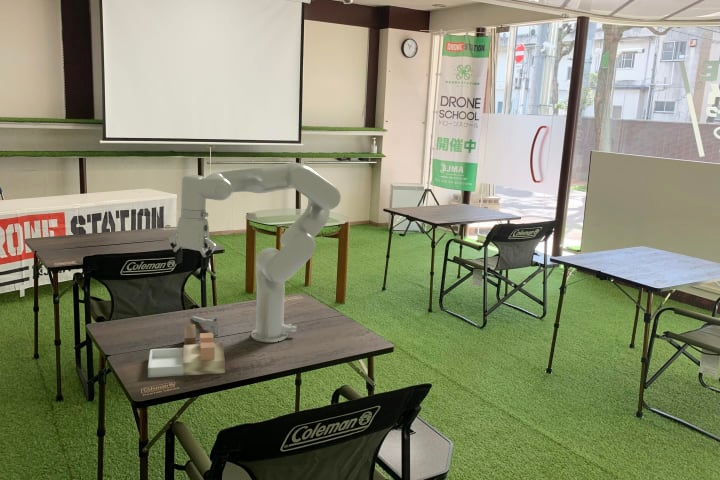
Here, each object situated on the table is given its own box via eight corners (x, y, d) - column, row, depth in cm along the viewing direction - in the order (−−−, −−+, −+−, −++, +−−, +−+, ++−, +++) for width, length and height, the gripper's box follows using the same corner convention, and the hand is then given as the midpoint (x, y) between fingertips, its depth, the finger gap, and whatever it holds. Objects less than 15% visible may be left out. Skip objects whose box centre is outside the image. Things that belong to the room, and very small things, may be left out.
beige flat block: (222, 354, 203) (222, 342, 202) (224, 372, 190) (224, 360, 189) (183, 356, 199) (183, 344, 199) (183, 375, 186) (183, 362, 185)
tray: (183, 356, 199) (183, 347, 199) (183, 375, 186) (183, 366, 186) (150, 358, 197) (150, 349, 196) (148, 377, 184) (147, 368, 183)
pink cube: (212, 344, 200) (212, 332, 199) (213, 349, 196) (213, 337, 195) (199, 345, 199) (199, 333, 198) (200, 350, 195) (200, 338, 194)
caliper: (218, 336, 218) (218, 319, 217) (215, 336, 218) (215, 319, 216) (193, 318, 234) (193, 302, 232) (190, 319, 233) (190, 303, 232)
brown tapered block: (195, 341, 213) (195, 324, 211) (195, 355, 201) (195, 337, 200) (184, 341, 212) (184, 324, 210) (184, 355, 200) (184, 338, 199)
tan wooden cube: (213, 354, 193) (214, 342, 192) (214, 359, 189) (214, 347, 188) (200, 355, 191) (200, 342, 191) (200, 360, 188) (200, 348, 187)
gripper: (223, 216, 201) (220, 267, 205) (177, 209, 206) (175, 259, 210) (210, 219, 194) (208, 272, 198) (163, 211, 199) (161, 263, 203)
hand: (191, 265), depth 204 cm, fingers open, 9 cm apart
